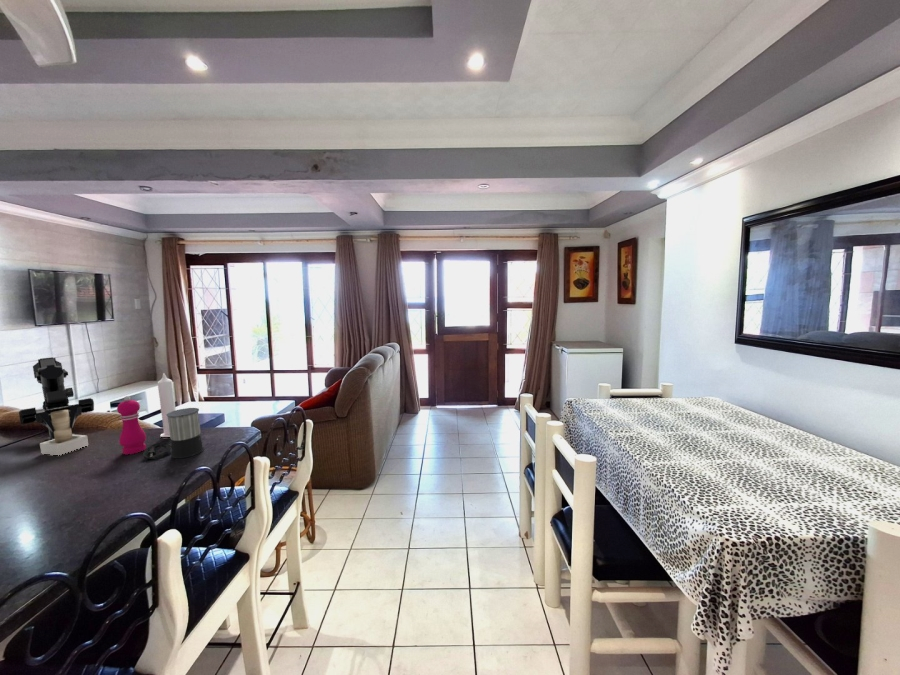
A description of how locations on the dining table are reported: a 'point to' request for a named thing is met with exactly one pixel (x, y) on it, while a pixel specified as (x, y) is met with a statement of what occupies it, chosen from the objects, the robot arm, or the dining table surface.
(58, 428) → the birch peg
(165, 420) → the candle
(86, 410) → the robot arm
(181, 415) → the milk frother
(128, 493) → the dining table surface
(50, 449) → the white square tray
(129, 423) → the pepper mill
